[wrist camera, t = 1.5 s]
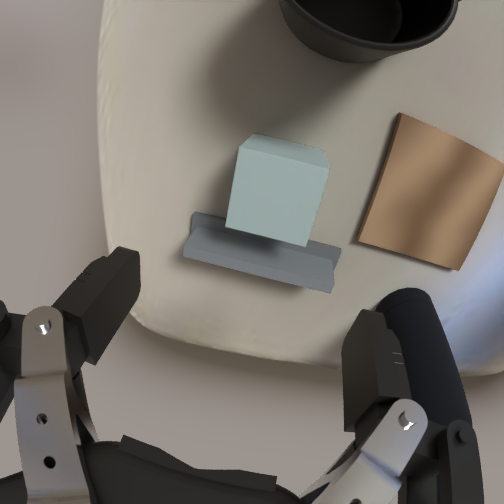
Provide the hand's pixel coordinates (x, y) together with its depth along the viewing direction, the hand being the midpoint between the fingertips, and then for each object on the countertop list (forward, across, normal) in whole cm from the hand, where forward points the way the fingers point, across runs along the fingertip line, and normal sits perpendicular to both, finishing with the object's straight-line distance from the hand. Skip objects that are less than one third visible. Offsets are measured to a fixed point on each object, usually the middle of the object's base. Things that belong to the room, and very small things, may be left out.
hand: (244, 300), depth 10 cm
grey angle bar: (+15, 0, +7) cm, 17 cm away
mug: (+15, -3, -15) cm, 22 cm away
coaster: (+15, -13, -2) cm, 20 cm away
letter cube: (+15, 0, 0) cm, 15 cm away
